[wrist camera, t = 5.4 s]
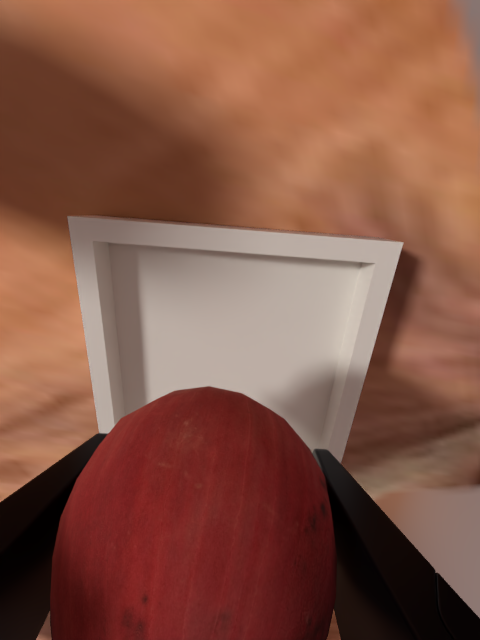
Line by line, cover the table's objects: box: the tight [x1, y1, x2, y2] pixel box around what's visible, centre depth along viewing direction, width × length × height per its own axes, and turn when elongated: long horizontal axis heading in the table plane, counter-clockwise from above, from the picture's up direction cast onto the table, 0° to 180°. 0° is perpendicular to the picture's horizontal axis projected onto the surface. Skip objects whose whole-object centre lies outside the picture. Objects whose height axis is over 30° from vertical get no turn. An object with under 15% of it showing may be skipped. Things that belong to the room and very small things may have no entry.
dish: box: [67, 215, 403, 464], centre depth 13 cm, size 12×12×2 cm
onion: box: [50, 386, 337, 640], centre depth 6 cm, size 6×6×8 cm
